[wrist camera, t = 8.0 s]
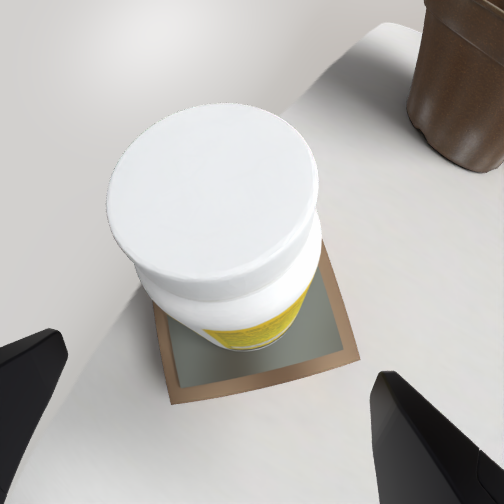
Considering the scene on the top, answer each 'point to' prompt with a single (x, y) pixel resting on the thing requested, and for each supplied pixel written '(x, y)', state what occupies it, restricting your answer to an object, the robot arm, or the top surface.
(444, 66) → the plant pot
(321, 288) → the plinth
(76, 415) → the top surface
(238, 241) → the supplement bottle
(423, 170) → the top surface
